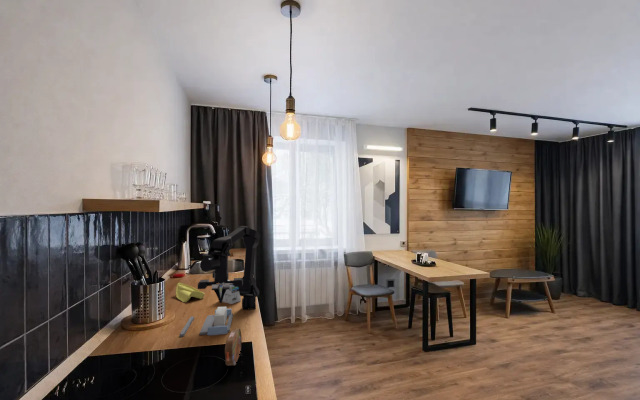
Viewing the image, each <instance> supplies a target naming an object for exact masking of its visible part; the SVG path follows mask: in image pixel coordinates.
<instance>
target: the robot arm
mask: <svg viewBox="0 0 640 400" xmlns="http://www.w3.org/2000/svg"><path fill="white" fill-rule="evenodd" d="M240 239H242V242H243V244H244V245H243V246H245V253H244V254H245V255H244V265H243V266H244V267H243V276H242V277H236V278H235V277H234V278H233V279H232V280H230V279H229V278H230V277H229V257H230V256H231V253H230V251H231V249H232V248H233V245H234V244H235V243H236V242H237V241H239V240H240ZM260 239H261V234H260V233H259V231H257V230H256V229H253V228H251V227H249V226H245V225H240V226H238V228H236V229H234V230H233V231H231V232H230V233H228V234H227V235H226V236H222V237H218V238H216V239H213V241H212V243H211V245H210V247H209V249H208V251H207V254H205V255H203V258H202V259H200V263H199V267H200V270H201V271H202V272H204V273H207V272H211V271H212V276H211V277H212V278H213V281H210V279H200V280H199V281H198V283H197V290H205V289H207V288H208V287H211V291H214V293H215V295H216V297H217V300H218V302H219V303H220V304H222V303H223V302H222V301H223V297H224V294H225V292H226V290H227V289H229V288H230V285H233V286H235V287H238V288H239V293H240V296H241V297H242V298H241V308H242V310H243V311H244V310H245V311H247V310H256V309H257V304H256V303H257V299H256V298H257V297H259V296H260V290H259V288H258V287H257V281H256V279H255V277H254V272H255V271H254V270H255V259H256V249H257V247H258V245H259V244H260ZM228 280H230V281H228ZM220 285H223V288H222V293H220Z"/></svg>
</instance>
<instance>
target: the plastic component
mask: <svg viewBox="0 0 640 400" xmlns="http://www.w3.org/2000/svg"><path fill="white" fill-rule="evenodd" d="M205 295H206V294H205V292H203V291H201V290H200V289H198V288H195V287H193V286H191V285H188V284H185V283H182V282H178V283H177V284H176V287H175V296H176V298H177V300H179V301H181V302H182V303H187V302H188V301H189V300H190V299H191V297H192V298H196V299H200V300H202V299H204V296H205Z"/></svg>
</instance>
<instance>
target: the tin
mask: <svg viewBox="0 0 640 400" xmlns="http://www.w3.org/2000/svg"><path fill="white" fill-rule="evenodd" d="M224 345H225V346H224V356H225V365H226V366H236V365H237V363H236V362H238V360H239V358H240V355H241V352H240V351H242V332H241V329H240V328H236V329H232V330H231V331H230V332H229V335H228V337H227V339H226V341H225V344H224ZM239 354H240V355H239Z"/></svg>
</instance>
